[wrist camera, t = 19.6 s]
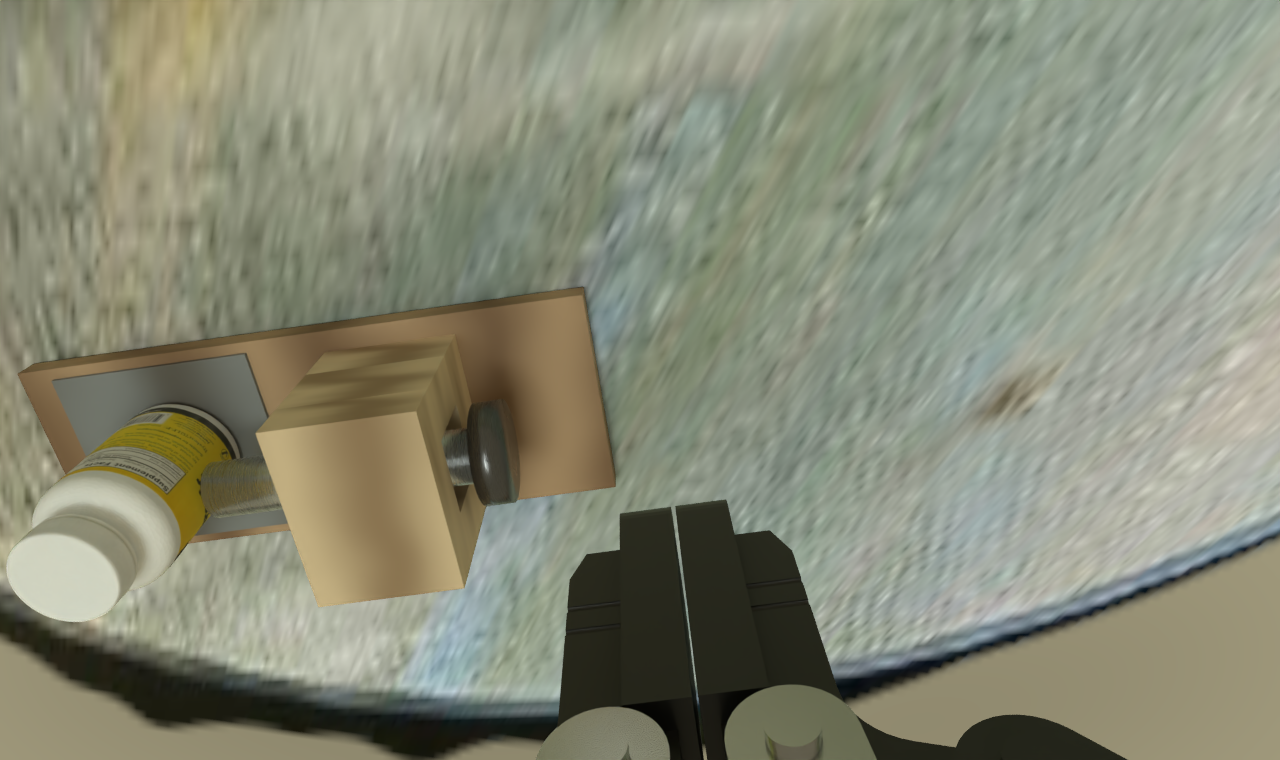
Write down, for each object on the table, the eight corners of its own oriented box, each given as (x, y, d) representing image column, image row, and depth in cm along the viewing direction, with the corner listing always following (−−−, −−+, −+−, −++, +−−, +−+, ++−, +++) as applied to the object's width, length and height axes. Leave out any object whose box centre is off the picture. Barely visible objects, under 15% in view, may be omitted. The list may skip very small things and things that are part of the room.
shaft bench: (117, 540, 43) (-5, 669, 35) (34, 363, 39) (-127, 459, 31) (615, 474, 42) (615, 589, 34) (583, 286, 38) (574, 364, 30)
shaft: (253, 505, 39) (211, 562, 34) (221, 421, 37) (172, 471, 33) (524, 469, 38) (513, 522, 34) (504, 382, 36) (490, 428, 32)
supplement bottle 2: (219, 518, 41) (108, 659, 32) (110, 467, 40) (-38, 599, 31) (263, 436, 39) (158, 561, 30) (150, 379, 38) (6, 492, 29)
